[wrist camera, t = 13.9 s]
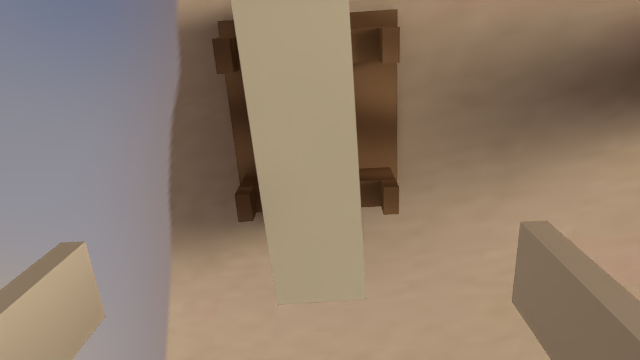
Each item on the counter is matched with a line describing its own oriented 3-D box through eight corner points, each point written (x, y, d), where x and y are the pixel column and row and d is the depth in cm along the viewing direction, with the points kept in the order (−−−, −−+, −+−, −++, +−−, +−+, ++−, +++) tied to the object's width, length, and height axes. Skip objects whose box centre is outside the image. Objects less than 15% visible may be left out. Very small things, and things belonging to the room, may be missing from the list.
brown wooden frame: (395, 198, 33) (405, 226, 29) (245, 206, 34) (233, 234, 29) (395, 9, 28) (408, 7, 24) (220, 21, 29) (200, 21, 24)
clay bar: (356, 231, 31) (366, 299, 23) (288, 236, 31) (276, 305, 23) (341, -7, 25) (347, -19, 17) (258, 0, 25) (229, -8, 18)
